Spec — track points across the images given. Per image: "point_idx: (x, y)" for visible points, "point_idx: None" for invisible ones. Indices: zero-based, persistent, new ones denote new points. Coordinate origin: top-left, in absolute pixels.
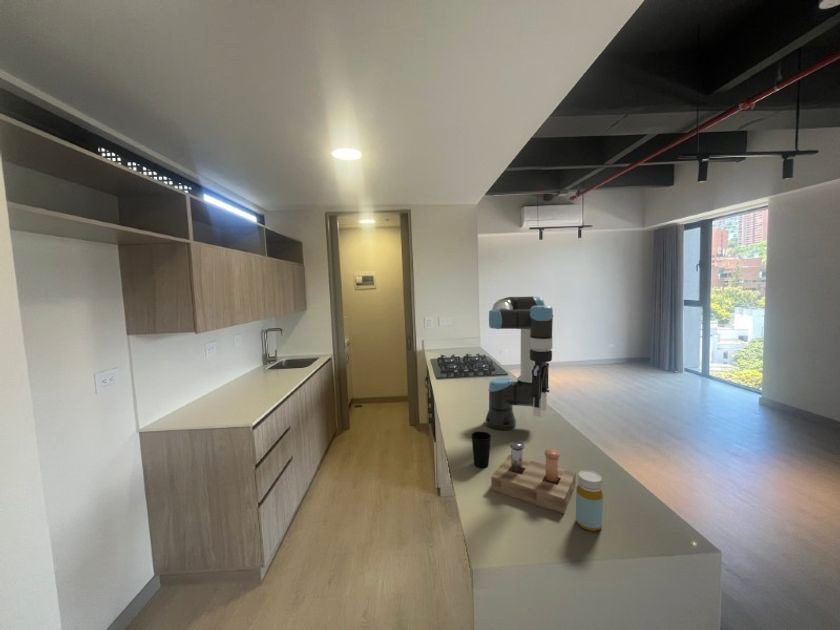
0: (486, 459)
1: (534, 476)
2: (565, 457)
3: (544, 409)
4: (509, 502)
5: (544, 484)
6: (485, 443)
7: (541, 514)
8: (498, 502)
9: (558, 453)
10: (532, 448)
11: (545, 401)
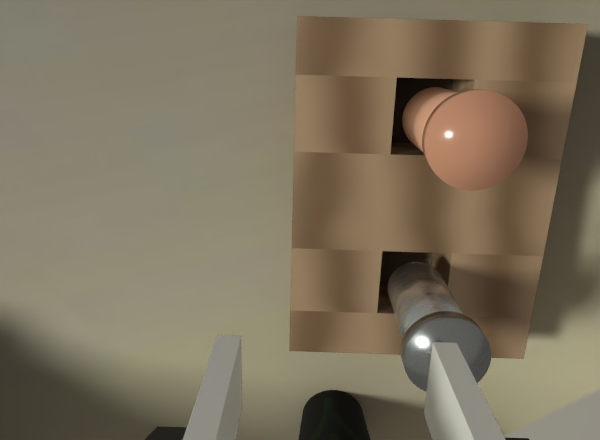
0: (350, 416)
1: (441, 197)
2: (42, 115)
3: (240, 357)
4: (556, 243)
5: None
6: None
7: (589, 113)
8: (572, 277)
9: (475, 99)
10: (54, 277)
11: (223, 416)
